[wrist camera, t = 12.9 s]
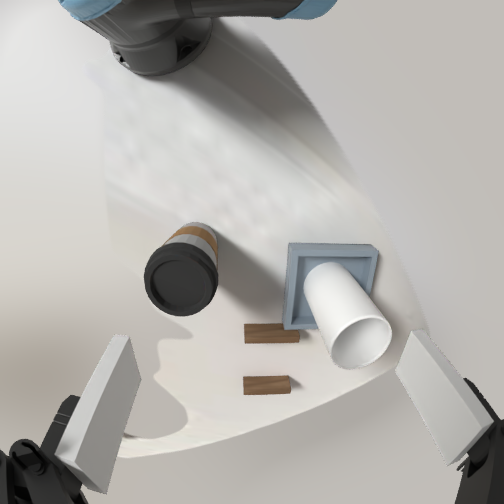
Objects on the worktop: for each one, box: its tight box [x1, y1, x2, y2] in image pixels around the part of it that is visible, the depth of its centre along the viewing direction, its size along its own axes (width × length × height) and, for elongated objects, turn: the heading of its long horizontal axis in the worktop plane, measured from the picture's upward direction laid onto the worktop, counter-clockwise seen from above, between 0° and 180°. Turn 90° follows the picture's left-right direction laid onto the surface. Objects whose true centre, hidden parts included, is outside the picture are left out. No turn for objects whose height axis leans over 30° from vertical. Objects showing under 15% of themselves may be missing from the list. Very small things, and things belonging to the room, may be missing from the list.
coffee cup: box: [144, 222, 218, 316], centre depth 36 cm, size 8×8×15 cm
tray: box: [282, 243, 379, 330], centre depth 45 cm, size 14×14×3 cm
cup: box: [303, 262, 392, 369], centre depth 38 cm, size 8×8×16 cm
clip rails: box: [243, 324, 300, 395], centre depth 49 cm, size 14×9×4 cm, turn 178°
